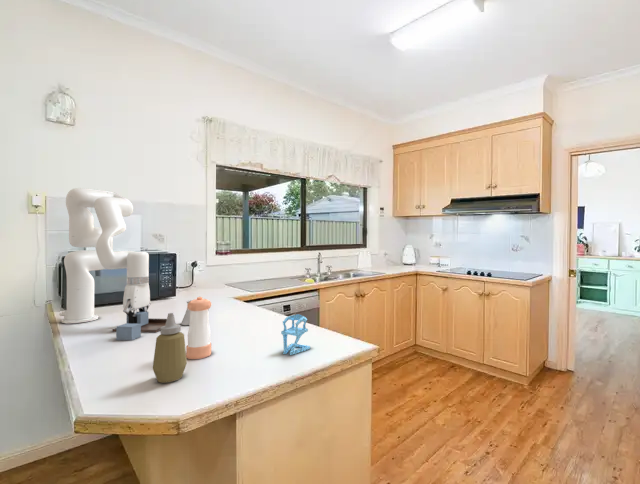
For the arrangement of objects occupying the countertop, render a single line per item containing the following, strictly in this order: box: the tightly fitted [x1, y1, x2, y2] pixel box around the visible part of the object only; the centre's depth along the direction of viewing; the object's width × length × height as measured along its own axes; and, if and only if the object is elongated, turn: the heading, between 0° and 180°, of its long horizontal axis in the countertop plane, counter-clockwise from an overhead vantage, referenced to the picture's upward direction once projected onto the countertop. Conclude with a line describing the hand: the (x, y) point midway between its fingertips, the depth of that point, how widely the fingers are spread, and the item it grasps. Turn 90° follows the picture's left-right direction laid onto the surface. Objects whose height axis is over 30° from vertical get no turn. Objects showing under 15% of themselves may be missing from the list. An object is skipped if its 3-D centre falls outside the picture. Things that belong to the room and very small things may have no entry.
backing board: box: [111, 317, 167, 333], centre depth 142 cm, size 18×12×2 cm, turn 88°
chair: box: [280, 313, 311, 356], centre depth 116 cm, size 8×8×12 cm
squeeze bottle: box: [152, 312, 188, 384], centre depth 92 cm, size 8×8×18 cm
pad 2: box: [115, 322, 142, 341], centre depth 127 cm, size 6×5×5 cm
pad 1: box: [126, 311, 149, 326], centre depth 142 cm, size 6×5×5 cm
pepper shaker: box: [185, 296, 212, 360], centre depth 110 cm, size 7×7×19 cm
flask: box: [180, 299, 193, 326], centre depth 149 cm, size 7×7×10 cm
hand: (137, 323), depth 142 cm, fingers closed on pad 1, 4 cm apart
